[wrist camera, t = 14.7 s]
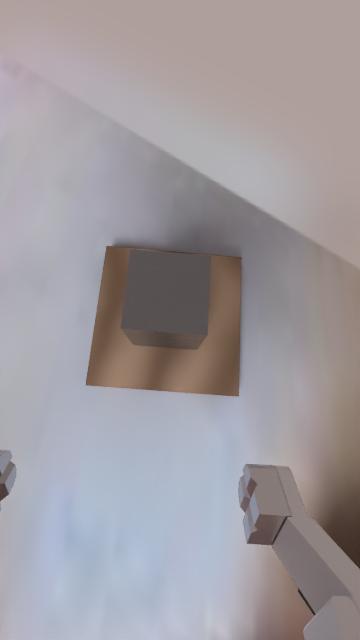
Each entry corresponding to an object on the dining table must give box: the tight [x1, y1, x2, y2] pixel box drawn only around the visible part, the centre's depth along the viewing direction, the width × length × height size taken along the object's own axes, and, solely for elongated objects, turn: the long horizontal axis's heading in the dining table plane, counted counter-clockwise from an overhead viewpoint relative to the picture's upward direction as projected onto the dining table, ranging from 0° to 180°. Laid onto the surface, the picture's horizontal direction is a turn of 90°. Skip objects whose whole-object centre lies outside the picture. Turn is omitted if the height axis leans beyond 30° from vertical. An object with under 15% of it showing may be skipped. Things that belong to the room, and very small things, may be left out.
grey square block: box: [121, 249, 211, 350], centre depth 24 cm, size 6×6×8 cm
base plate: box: [86, 246, 241, 396], centre depth 28 cm, size 14×14×2 cm
